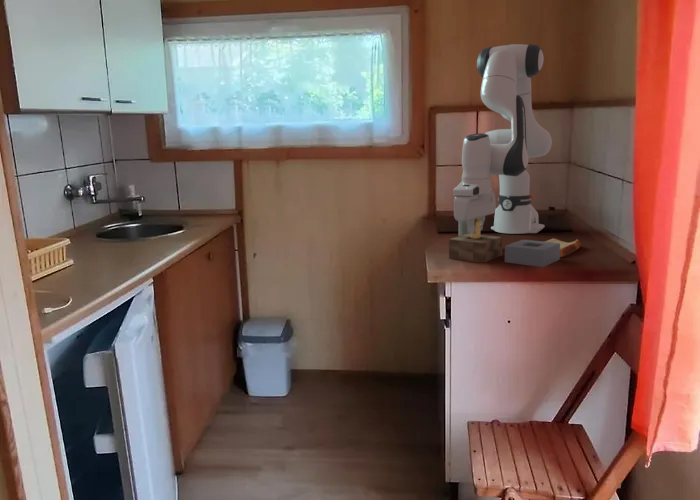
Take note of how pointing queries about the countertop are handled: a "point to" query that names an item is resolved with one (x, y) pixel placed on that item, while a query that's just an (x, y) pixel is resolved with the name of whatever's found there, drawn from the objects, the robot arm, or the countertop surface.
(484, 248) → the tan wooden mount
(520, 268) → the countertop surface
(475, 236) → the brass pin
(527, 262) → the slate socket block
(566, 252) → the slice of bread
